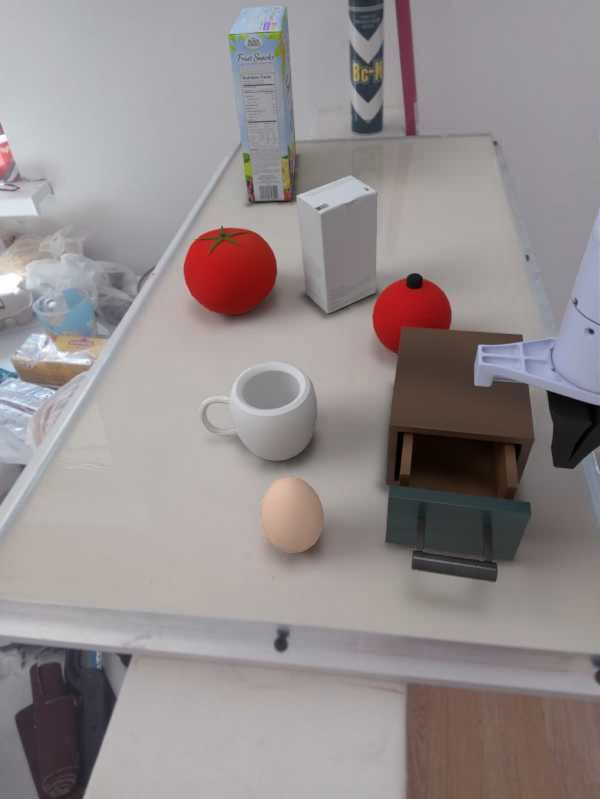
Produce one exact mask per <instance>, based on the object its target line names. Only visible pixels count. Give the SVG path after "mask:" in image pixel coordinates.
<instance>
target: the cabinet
mask: <svg viewBox="0 0 600 799" xmlns="http://www.w3.org/2000/svg"><path fill="white" fill-rule="evenodd" d="M518 342H524V336H523V334H522V333H521V334H519V333H504V332H490V331H477V330H476V331H475V330H474V331H473V330H459V329H449V330H446V329H431V328H416V327H402V328H401V336H400V344H399V351H398V354H397V358H396V360H397V361H396V368H395V376H394V383H393V391H392V397H391V398H392V399H391V406H390V414H389V423H388V438H387V453H386V454H387V455H386V472H385V486H390V485H396V486H399V479H400V469H401V459H402V449H403V439H404V432H409V433H419V434H428V435H438V436H448V437H457V438H467V439H476V440H486V441H496V442H505V443H515V453H516V464H517V476H518V487H519V486H520V483H521V480H522V478H523V474H524V471H525V468H526V466H527V463H528V460H529V457H530V454H531V451H532V448H533V445H534V444H535V440H536V437H535V430H534V421H533V420H534V419H533V412H532V403H531V395H530V387H529V386H530V385H529V384H526V383H517V382H505V381H493V382H492V385H491V386H489V387H485V386H475V385H474V364H475V359H476V354H477V349H478V345H503V344H511V343H518Z"/></svg>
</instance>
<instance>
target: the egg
mask: <svg viewBox="0 0 600 799" xmlns="http://www.w3.org/2000/svg"><path fill="white" fill-rule="evenodd" d="M324 515H325V513H324V508H323V504H322V501H321V498H320V496H319V495H318V493H317V492H316V490H314V488H313V487H312V486H311V484H309V483H308V482H306V480H304V479H301V478H300V477H297V476H283V477H280V478H278V479H276V481H274V482H273V483H271V485H270V486H269V488H268V489H267V490H266V492H265V493H264V496H263V499H262V502H261V505H260V522H261V527H262V530H263V533H264V535H265V537H266V538H267V540H268V542H270V543H271V544H272V545H273V546H274V547H275V548H276V549H278V550H280V551H282V552H284V553H289V554H299V553H302V552H305V551H307V550H308V549H310V548H311V547H313V546H314V545H315V544H316V542H317V541H318V540H319V538H320V536H321V534H322V531H323V529H324V518H325V516H324Z"/></svg>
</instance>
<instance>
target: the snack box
mask: <svg viewBox="0 0 600 799" xmlns="http://www.w3.org/2000/svg"><path fill="white" fill-rule="evenodd" d="M227 38H228V47H229V55H230V63H231V72H232V80H233V87H234V95H235V96H234V97H235V104H236V113H237V120H238V128H239V136H240V144H241V152H242V159H243V160H242V161H243V168H244V170H243V171H244V177H245V185H246V195H247V200H248V202H249V203H256V202H257V203H258V202H286V201H287V202H288V201H292V196H293V186H294V176H295V168H296V156H297V146H296V145H297V144H296V129H295V114H294V113H295V112H294V111H295V110H294V97H293V81H292V67H291V50H290V49H291V48H290V32H289V18H288V7H287V5H280V4H279V5H265V6H255V7H254V6H250V7H243V8H242V9H241V11H240V13H239V15H238V17H237V19H236V21H235V22H234V24H233V26H232V27H231V29H230V31H229V33H228V34H227Z"/></svg>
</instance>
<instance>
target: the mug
mask: <svg viewBox="0 0 600 799" xmlns="http://www.w3.org/2000/svg"><path fill="white" fill-rule="evenodd" d="M216 403H217V404H226V405H229V409H230V410H229V411H230V416H231V420H232V424H233V426H234V427H233V428H229V429H228V428H227V429H224V428H219V427H216V426H214V425H213V424H212V423H211V422H210V420H209V418H208V416H207V410H208V408H209V406H210V405H212V404H216ZM198 414H199V419H200V422H201V424H202V425H203V427H204V428H205V429H206V430H207V431H208V432H210V433H211V434H214V435H216V436H220V437H231V436H236V435H237V436H238V437H239V439H240V440H241V442H242V443H243V445H244V446H245V448H247V449H248V450H249V452H251V453H252V454H253V455H255V456H256V457H258V458H261V459H263V460H267V461H273V462H274V461H275V462H279V461H285V460H289V459H291V458H293V457H295V456H298V455H299V454H300V453H302V452H303V451H304V450H305V449H306V447H308V444H310V441H311V440H312V437H313V435H314V433H315V430H316V426H317V419H318V402H317V395H316V391H315V387H314V384H313V382H312V380H311V378H310V377H309V376H308V374H307V373H306V371H304V370H303V369H302V368H301V367H299V366H297V365H296V364H293V363H291V362H290V363H289V362H284V361H265V362H261V363H257V364H255V365H252V366H250V367H248V368H246V370H243V371H242V372H241V373H240V374H239V375H238V376H237V377H236V379H235V380H234V382H233V383H232V386H231V389H230V392H229V395H228V396H226V395H219V394H218V395H217V394H216V395H212V396H209V397H208V398H206V399H205V400H203V401H202V402H201V404H200V406H199V411H198Z"/></svg>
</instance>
